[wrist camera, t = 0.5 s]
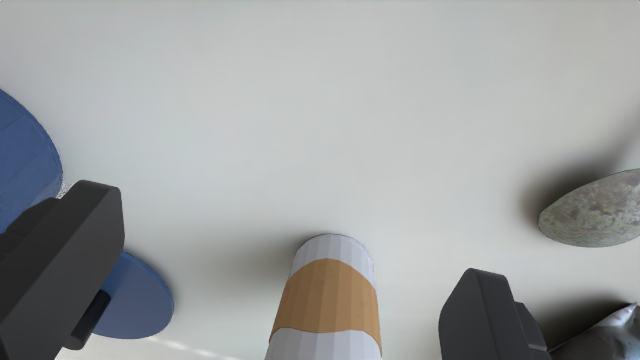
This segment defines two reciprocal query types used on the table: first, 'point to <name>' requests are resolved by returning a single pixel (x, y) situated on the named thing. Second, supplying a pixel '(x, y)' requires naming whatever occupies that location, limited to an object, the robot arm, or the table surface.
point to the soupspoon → (596, 212)
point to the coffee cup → (328, 304)
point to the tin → (24, 162)
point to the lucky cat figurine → (605, 339)
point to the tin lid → (125, 305)
